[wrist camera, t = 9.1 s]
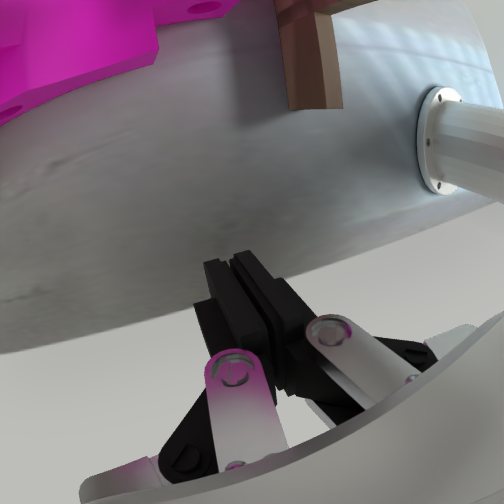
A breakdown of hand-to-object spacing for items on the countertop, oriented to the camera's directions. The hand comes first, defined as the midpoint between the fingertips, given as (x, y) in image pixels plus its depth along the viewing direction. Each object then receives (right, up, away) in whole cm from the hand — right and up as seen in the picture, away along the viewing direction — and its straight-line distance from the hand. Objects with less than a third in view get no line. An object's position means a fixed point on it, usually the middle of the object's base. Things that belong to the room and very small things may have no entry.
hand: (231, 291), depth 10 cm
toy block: (-8, +14, 0) cm, 16 cm away
